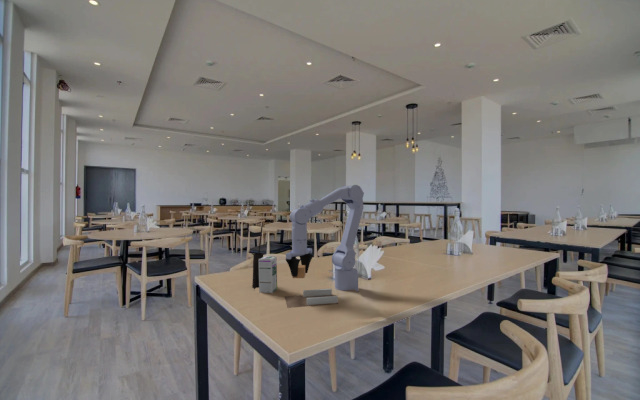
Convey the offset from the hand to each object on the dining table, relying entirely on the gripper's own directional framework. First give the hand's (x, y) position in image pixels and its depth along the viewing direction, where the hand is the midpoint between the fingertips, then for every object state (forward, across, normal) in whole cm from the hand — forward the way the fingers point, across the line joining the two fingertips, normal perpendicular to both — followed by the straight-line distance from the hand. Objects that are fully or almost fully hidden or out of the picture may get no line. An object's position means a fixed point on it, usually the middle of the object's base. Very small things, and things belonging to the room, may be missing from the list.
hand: (299, 274), depth 115 cm
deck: (+9, -3, -7) cm, 11 cm away
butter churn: (+9, 0, +24) cm, 26 cm away
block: (+1, 0, 0) cm, 1 cm away
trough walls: (+8, 0, -9) cm, 12 cm away
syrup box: (+9, -2, +14) cm, 17 cm away
